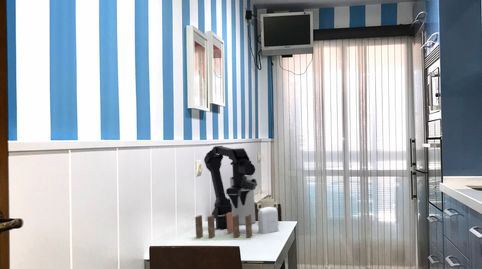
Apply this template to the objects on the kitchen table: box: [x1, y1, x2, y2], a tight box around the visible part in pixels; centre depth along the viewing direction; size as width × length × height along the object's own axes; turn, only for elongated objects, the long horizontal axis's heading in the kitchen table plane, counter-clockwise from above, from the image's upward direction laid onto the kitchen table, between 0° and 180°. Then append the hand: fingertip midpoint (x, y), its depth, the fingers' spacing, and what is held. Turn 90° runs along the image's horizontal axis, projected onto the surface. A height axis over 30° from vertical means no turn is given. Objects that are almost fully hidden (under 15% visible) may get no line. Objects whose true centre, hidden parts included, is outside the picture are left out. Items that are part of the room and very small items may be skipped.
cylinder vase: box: [229, 175, 256, 226], centre depth 275 cm, size 12×12×25 cm
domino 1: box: [194, 214, 204, 239], centre depth 238 cm, size 2×5×10 cm, turn 166°
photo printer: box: [257, 206, 279, 235], centre depth 243 cm, size 10×4×12 cm, turn 123°
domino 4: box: [245, 214, 253, 238], centre depth 232 cm, size 2×5×10 cm, turn 166°
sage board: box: [191, 233, 257, 241], centre depth 235 cm, size 28×13×1 cm, turn 76°
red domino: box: [226, 212, 233, 235], centre depth 246 cm, size 2×5×10 cm, turn 166°
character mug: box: [256, 198, 279, 211], centre depth 267 cm, size 11×7×13 cm, turn 95°
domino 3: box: [232, 215, 241, 238], centre depth 234 cm, size 2×5×10 cm, turn 165°
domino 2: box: [207, 214, 216, 238], centre depth 237 cm, size 2×5×10 cm, turn 166°
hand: (240, 206), depth 244 cm, fingers open, 9 cm apart
